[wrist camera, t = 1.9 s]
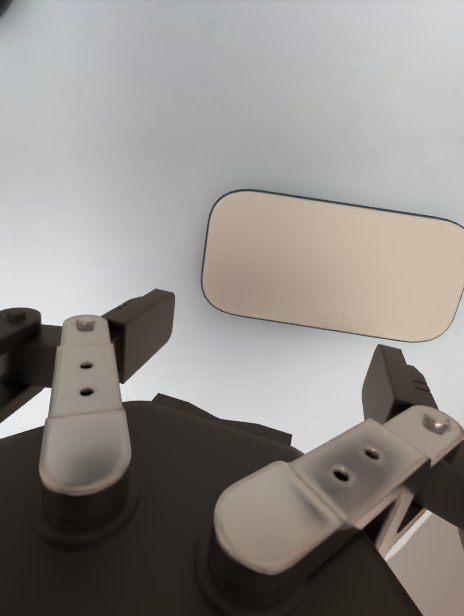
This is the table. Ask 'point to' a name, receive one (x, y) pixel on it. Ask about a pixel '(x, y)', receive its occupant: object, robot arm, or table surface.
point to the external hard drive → (333, 265)
